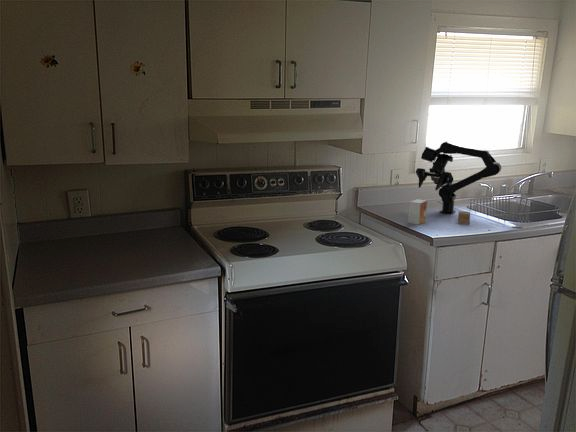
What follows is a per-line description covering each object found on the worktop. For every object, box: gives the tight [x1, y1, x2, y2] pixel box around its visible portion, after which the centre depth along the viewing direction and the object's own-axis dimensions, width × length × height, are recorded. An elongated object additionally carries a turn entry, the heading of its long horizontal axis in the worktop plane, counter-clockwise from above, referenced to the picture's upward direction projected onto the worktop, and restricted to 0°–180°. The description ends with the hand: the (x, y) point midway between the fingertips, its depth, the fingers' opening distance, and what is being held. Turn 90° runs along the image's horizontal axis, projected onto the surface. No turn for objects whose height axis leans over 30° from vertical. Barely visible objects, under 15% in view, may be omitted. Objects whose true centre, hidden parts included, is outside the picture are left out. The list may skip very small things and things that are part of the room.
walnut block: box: [457, 210, 471, 225], centre depth 258 cm, size 5×5×5 cm
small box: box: [407, 198, 428, 226], centre depth 256 cm, size 8×6×10 cm
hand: (427, 188), depth 268 cm, fingers open, 9 cm apart
